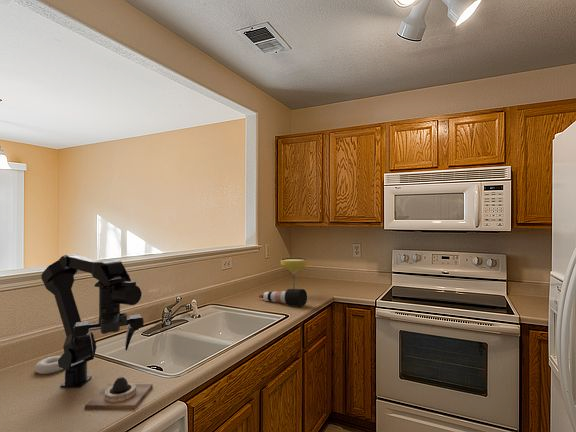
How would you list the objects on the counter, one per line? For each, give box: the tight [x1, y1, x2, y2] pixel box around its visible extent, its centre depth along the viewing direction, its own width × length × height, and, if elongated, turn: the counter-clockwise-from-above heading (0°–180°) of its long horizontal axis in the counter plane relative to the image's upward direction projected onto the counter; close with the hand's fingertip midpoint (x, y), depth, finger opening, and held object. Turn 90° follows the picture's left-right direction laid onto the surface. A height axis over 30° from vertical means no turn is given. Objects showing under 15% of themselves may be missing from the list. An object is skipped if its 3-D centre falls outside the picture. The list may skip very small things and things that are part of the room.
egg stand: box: [84, 381, 153, 410], centre depth 99 cm, size 12×14×2 cm
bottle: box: [258, 288, 308, 307], centre depth 210 cm, size 10×34×10 cm, turn 56°
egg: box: [113, 376, 129, 394], centre depth 99 cm, size 4×4×5 cm
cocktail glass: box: [280, 257, 308, 289], centre depth 232 cm, size 18×18×25 cm
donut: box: [34, 355, 64, 375], centre depth 118 cm, size 10×4×10 cm
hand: (109, 352), depth 102 cm, fingers open, 9 cm apart
